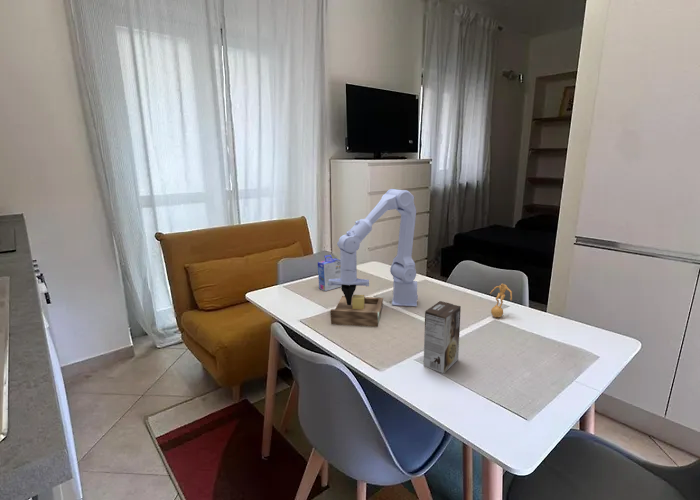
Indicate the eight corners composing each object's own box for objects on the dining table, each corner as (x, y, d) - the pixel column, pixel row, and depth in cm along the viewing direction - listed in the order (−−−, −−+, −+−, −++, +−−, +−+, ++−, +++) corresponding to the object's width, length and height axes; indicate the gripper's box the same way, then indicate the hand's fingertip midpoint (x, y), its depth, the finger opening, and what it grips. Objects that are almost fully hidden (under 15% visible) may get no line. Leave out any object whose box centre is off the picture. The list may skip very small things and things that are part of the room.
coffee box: (437, 352, 108) (439, 300, 105) (458, 359, 104) (462, 305, 101) (422, 366, 102) (424, 310, 98) (444, 374, 98) (447, 316, 94)
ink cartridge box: (335, 283, 171) (335, 252, 168) (343, 286, 167) (342, 255, 164) (317, 288, 165) (316, 256, 162) (325, 291, 161) (324, 258, 158)
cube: (364, 305, 138) (364, 294, 137) (363, 309, 134) (363, 298, 134) (353, 304, 139) (353, 294, 138) (352, 308, 135) (352, 298, 134)
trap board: (382, 303, 146) (382, 291, 145) (377, 326, 126) (377, 312, 125) (342, 301, 149) (342, 289, 148) (330, 324, 129) (330, 310, 127)
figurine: (483, 314, 134) (485, 282, 132) (493, 310, 138) (495, 279, 135) (504, 322, 128) (507, 288, 125) (514, 317, 131) (517, 285, 128)
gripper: (369, 265, 137) (369, 300, 140) (330, 265, 138) (331, 299, 142) (368, 271, 130) (368, 307, 133) (327, 270, 132) (328, 306, 135)
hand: (349, 304), depth 137 cm, fingers closed
